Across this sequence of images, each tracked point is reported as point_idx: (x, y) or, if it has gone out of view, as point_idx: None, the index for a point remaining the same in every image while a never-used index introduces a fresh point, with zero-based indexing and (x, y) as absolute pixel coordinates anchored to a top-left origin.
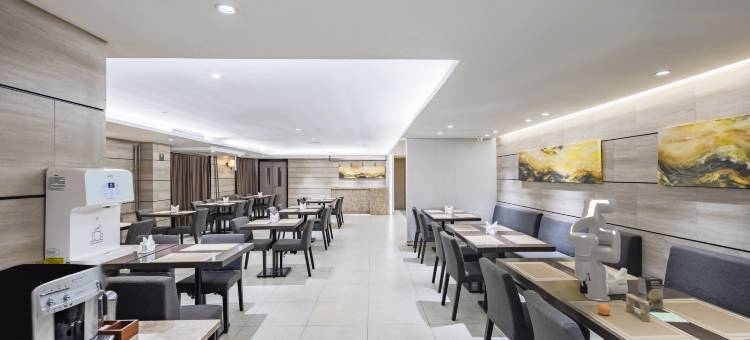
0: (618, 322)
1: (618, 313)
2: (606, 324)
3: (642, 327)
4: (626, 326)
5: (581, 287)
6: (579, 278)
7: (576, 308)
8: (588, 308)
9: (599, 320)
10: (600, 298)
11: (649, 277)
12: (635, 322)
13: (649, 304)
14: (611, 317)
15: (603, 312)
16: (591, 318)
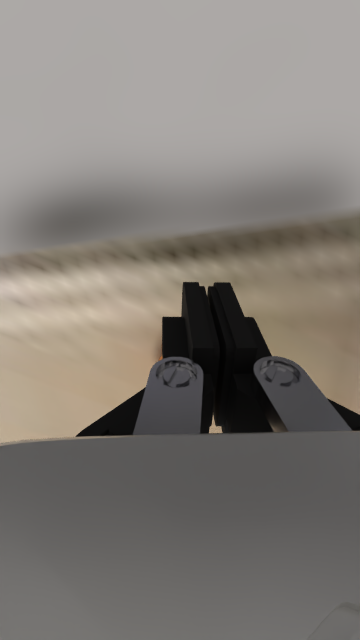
0: (69, 372)
1: (214, 426)
2: (8, 295)
3: (27, 437)
4: (14, 382)
5: (191, 335)
6: (117, 483)
7: (315, 229)
8: (304, 314)
9: (75, 284)
10: None
11: None
12: None
13: None
14: (146, 372)
15: (161, 356)
16: (104, 247)
